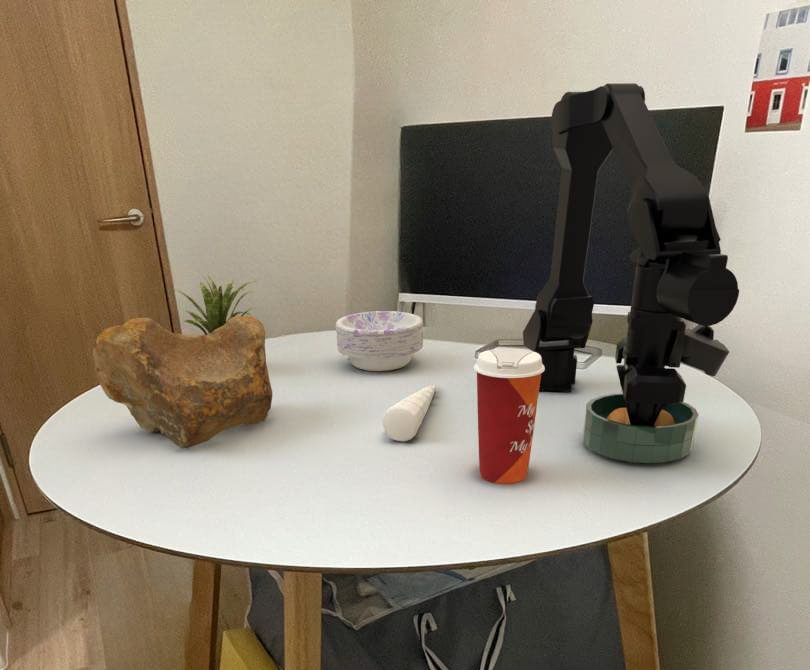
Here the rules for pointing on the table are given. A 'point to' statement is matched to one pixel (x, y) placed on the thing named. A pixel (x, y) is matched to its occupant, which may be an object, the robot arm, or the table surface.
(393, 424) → the unicorn horn
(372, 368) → the paper bowls
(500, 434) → the paper cup
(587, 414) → the green pet bowl
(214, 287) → the house plant
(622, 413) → the bread roll
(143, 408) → the rough brown rock
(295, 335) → the table surface
